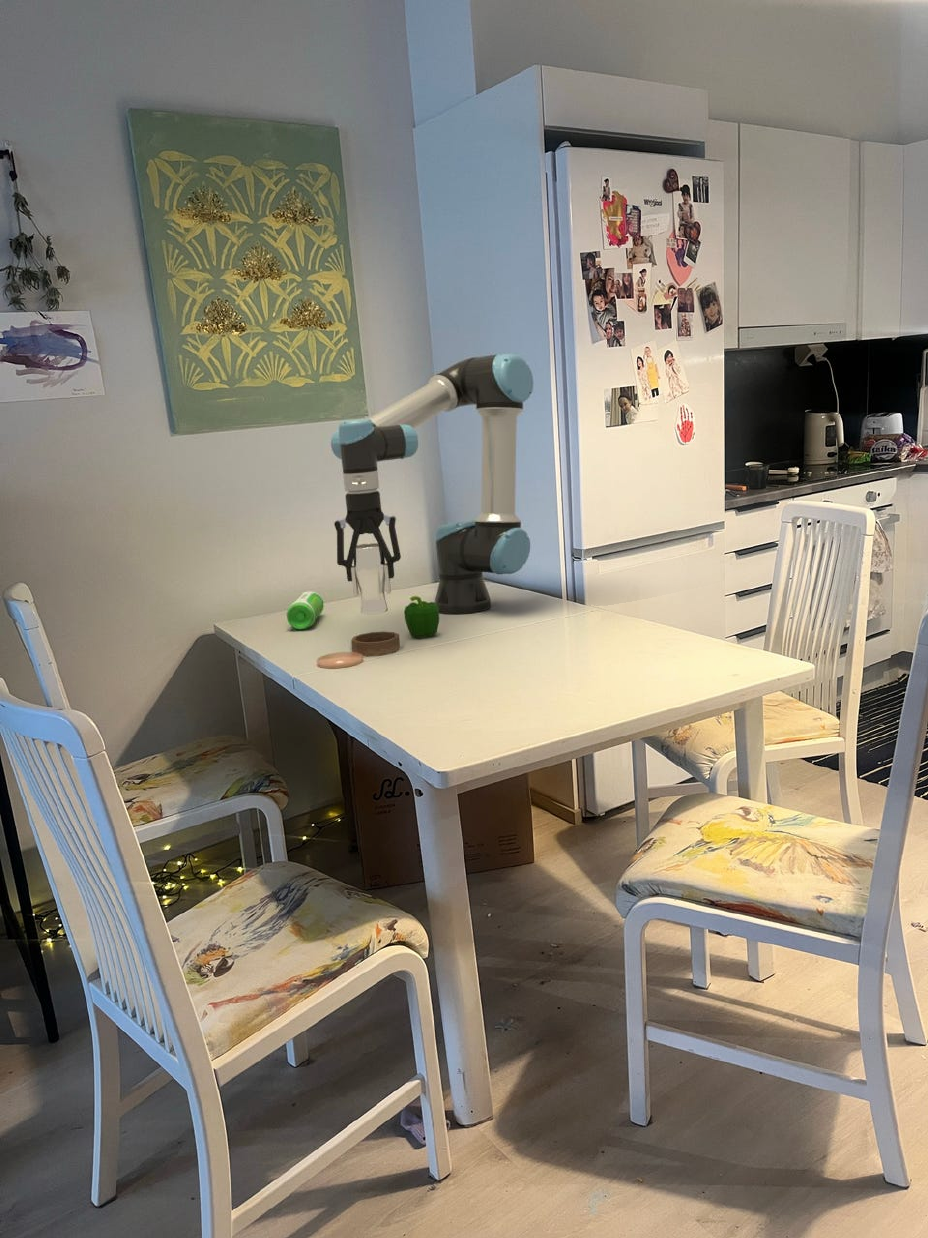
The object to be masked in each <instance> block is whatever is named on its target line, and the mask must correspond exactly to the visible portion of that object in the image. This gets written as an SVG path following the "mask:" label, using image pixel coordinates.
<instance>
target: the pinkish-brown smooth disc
mask: <svg viewBox="0 0 928 1238" xmlns="http://www.w3.org/2000/svg"><path fill="white" fill-rule="evenodd" d="M363 662H364V656H363V655H362V654H360V653H356V652H352V651H341V652H339V651H338V652H334V653H333V652H332V653H328V654H325V655H322V656H319V657H318V658H317V659H316V663H317V664H316V665H317V667H318V668H321V669H330V670H331V669H344V668H350V667H354V666H357V665H360V664H362V663H363Z"/></svg>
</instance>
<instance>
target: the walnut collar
mask: <svg viewBox="0 0 928 1238" xmlns="http://www.w3.org/2000/svg"><path fill="white" fill-rule="evenodd" d="M350 640H351V649H352V650H351V652H356V653H360V654H362V655H363V657H380V656H385V655H391V654H393V653H396V652H398V651H400V649H401V641H400V633H397V632H394V631H371V632H366V633H360V634H358V635H357V634H356V635H355V636H353V637H352V638H351V639H350Z"/></svg>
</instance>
